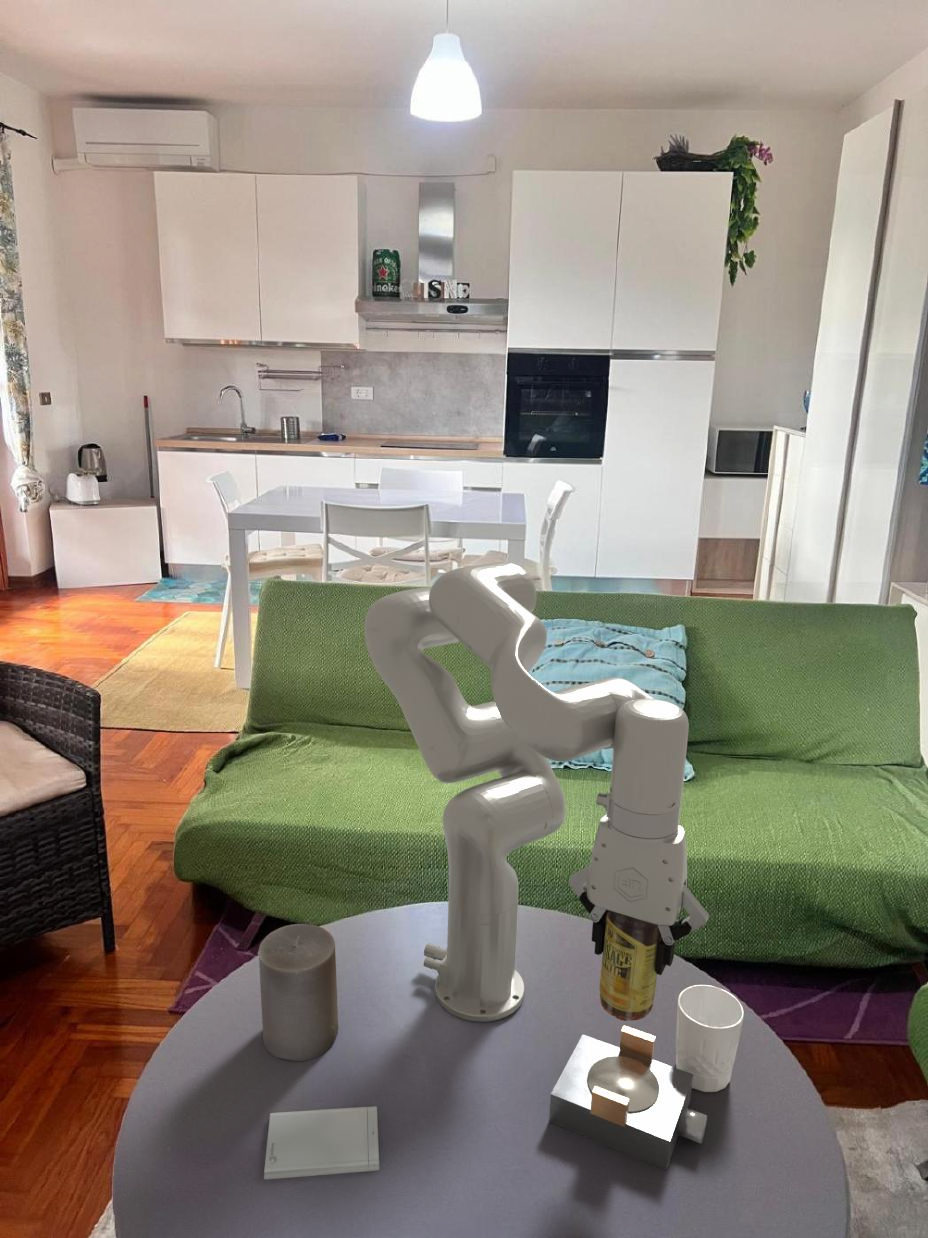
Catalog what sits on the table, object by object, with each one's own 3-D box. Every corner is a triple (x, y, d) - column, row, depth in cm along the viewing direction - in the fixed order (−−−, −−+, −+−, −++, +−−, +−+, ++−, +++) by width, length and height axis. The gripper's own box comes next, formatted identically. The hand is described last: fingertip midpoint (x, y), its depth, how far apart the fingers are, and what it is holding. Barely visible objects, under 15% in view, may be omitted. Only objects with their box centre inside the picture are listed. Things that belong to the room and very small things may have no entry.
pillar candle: (319, 1000, 125) (315, 906, 121) (350, 1044, 118) (348, 945, 113) (251, 1027, 120) (245, 929, 116) (280, 1075, 112) (274, 972, 108)
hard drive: (263, 1171, 98) (379, 1162, 99) (269, 1111, 106) (377, 1103, 107) (263, 1184, 98) (379, 1174, 100) (270, 1123, 106) (377, 1114, 108)
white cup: (737, 1102, 110) (746, 1033, 108) (671, 1090, 112) (678, 1022, 109) (732, 1055, 118) (741, 990, 115) (670, 1045, 119) (677, 980, 116)
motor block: (547, 1125, 106) (550, 1075, 104) (581, 1058, 117) (585, 1012, 115) (689, 1184, 99) (696, 1132, 97) (713, 1107, 109) (719, 1059, 108)
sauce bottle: (588, 995, 106) (598, 842, 100) (634, 982, 108) (646, 833, 103) (618, 1032, 100) (631, 873, 95) (666, 1018, 102) (681, 862, 97)
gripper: (555, 809, 98) (547, 952, 103) (717, 850, 90) (700, 1003, 95) (580, 782, 104) (571, 918, 109) (733, 819, 97) (716, 963, 102)
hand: (631, 956), depth 102 cm, fingers closed on sauce bottle, 6 cm apart
